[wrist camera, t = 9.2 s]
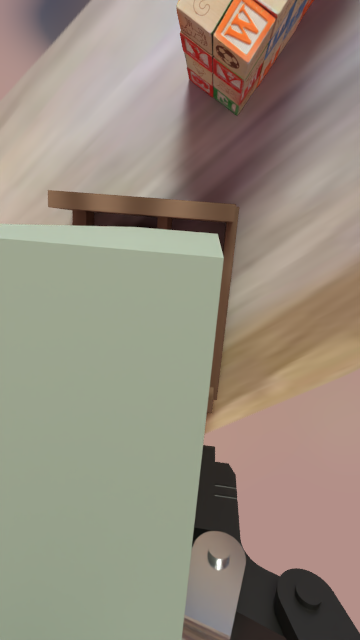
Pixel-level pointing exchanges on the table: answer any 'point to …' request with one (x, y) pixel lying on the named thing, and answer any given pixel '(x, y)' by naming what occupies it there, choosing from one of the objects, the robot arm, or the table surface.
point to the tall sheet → (101, 426)
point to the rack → (165, 212)
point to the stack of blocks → (235, 43)
